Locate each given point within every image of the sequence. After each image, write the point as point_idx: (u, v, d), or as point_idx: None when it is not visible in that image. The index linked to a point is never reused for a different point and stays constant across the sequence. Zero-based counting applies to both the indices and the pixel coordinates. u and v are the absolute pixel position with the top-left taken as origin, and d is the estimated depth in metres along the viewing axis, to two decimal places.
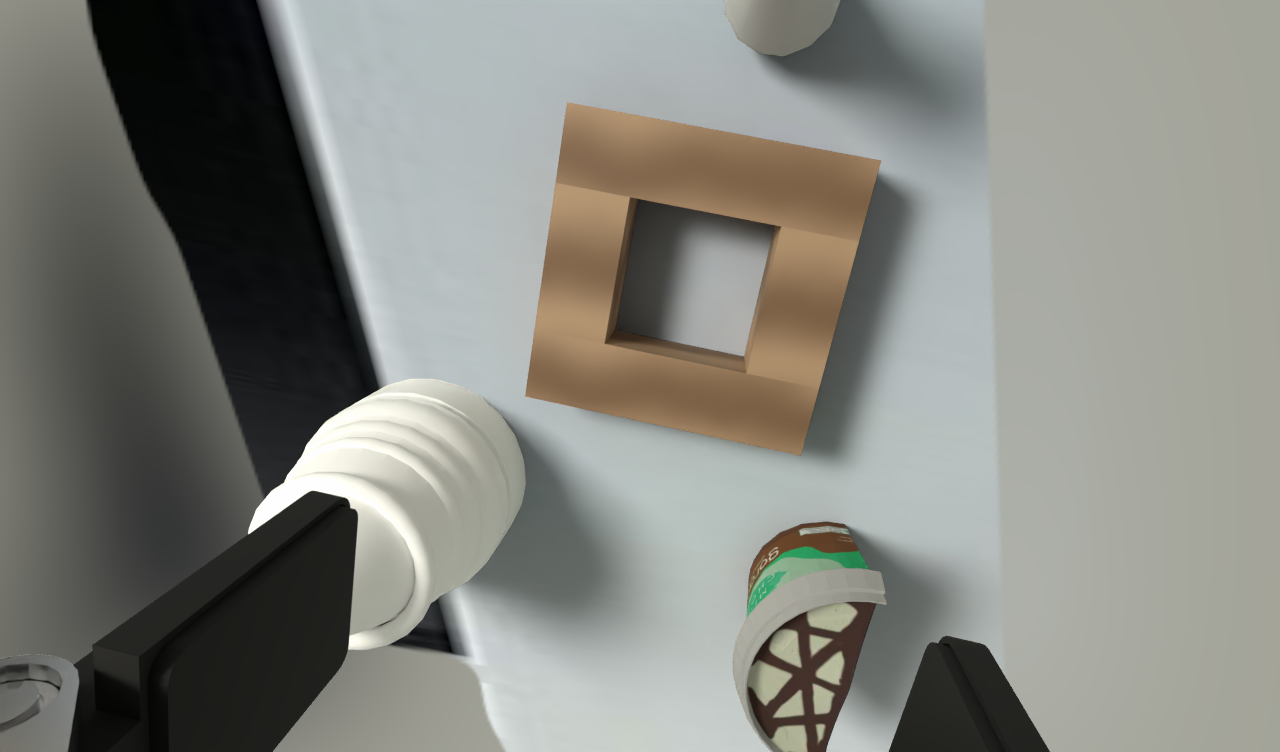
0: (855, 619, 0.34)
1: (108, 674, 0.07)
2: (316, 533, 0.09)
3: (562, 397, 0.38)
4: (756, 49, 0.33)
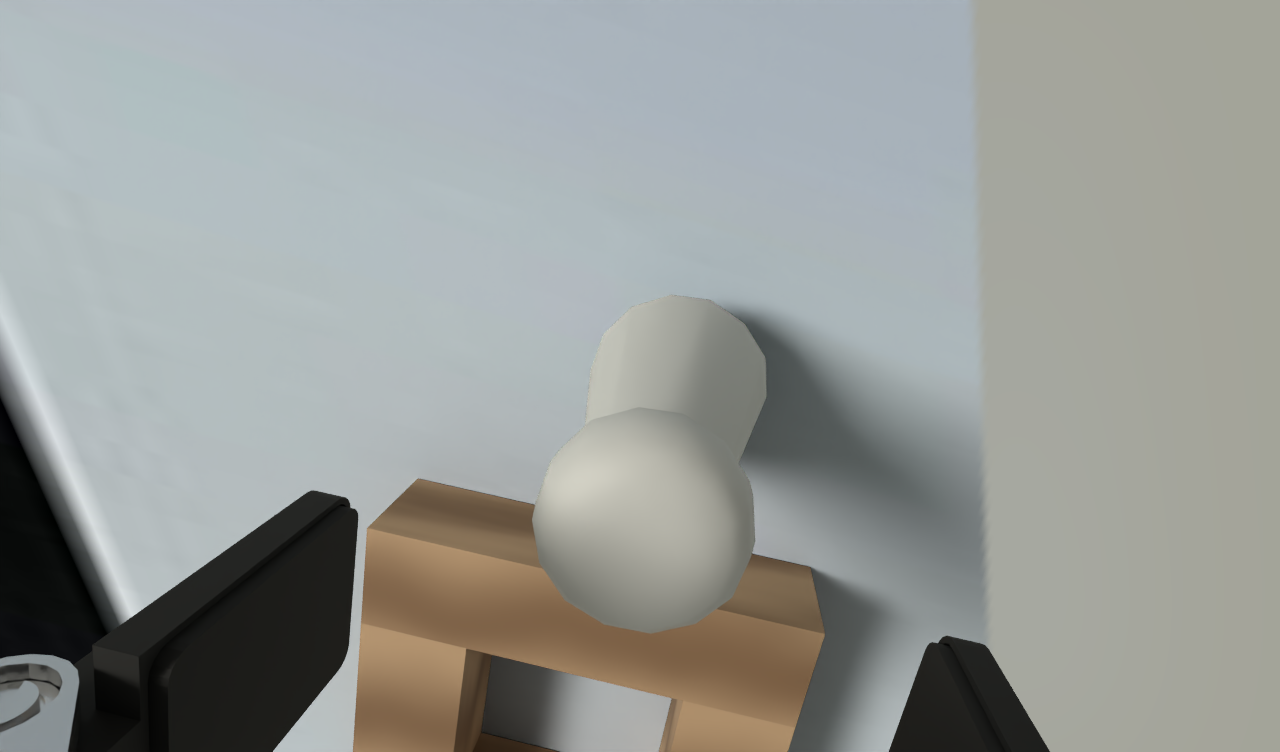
0: None
1: (108, 674, 0.07)
2: (316, 533, 0.09)
3: None
4: None
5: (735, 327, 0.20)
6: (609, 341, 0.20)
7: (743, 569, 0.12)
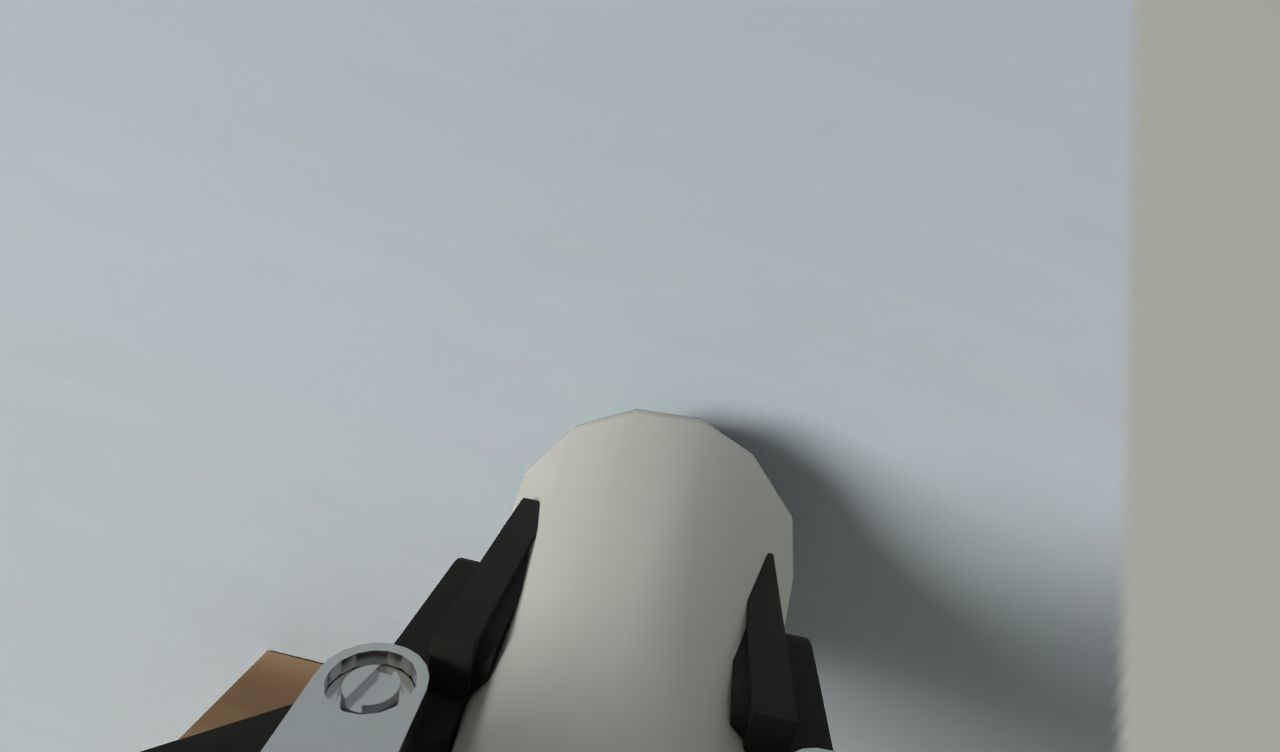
0: None
1: (443, 660, 0.08)
2: None
3: None
4: None
5: (743, 476, 0.12)
6: None
7: None
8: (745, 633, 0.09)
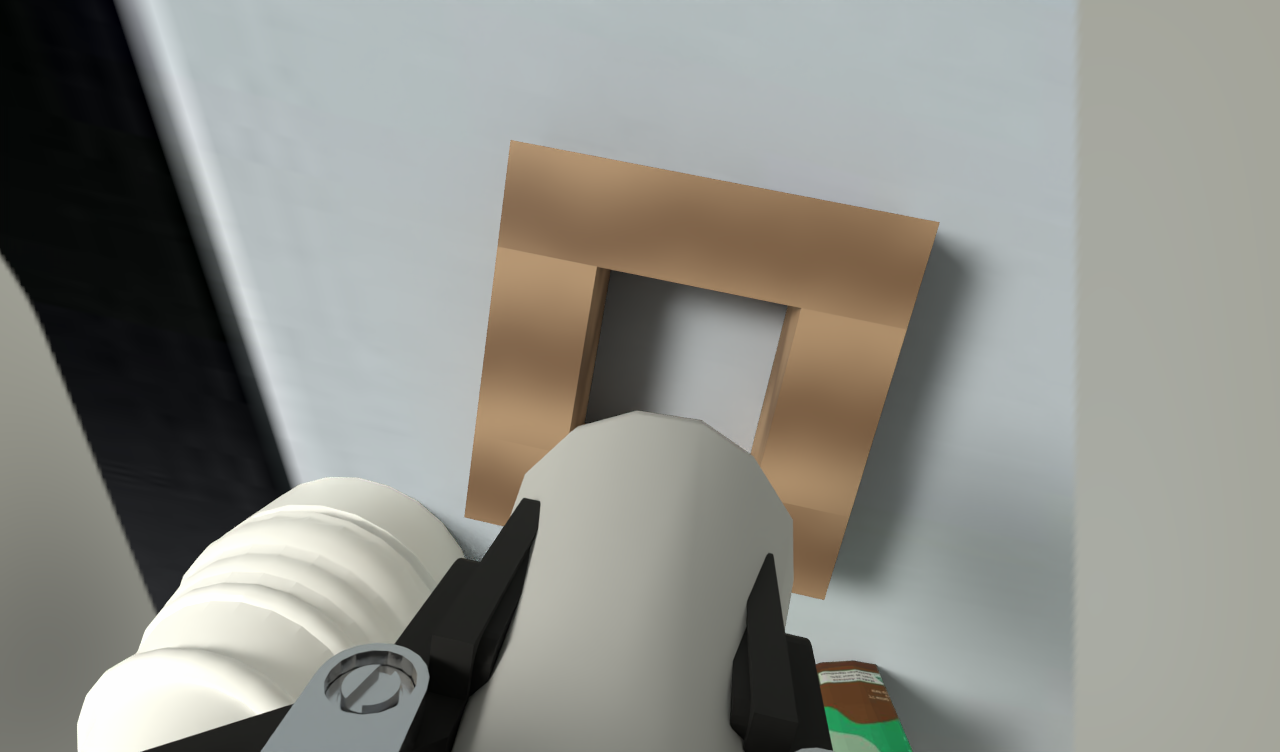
0: None
1: (443, 660, 0.08)
2: None
3: None
4: None
5: (743, 477, 0.12)
6: None
7: None
8: (745, 633, 0.09)
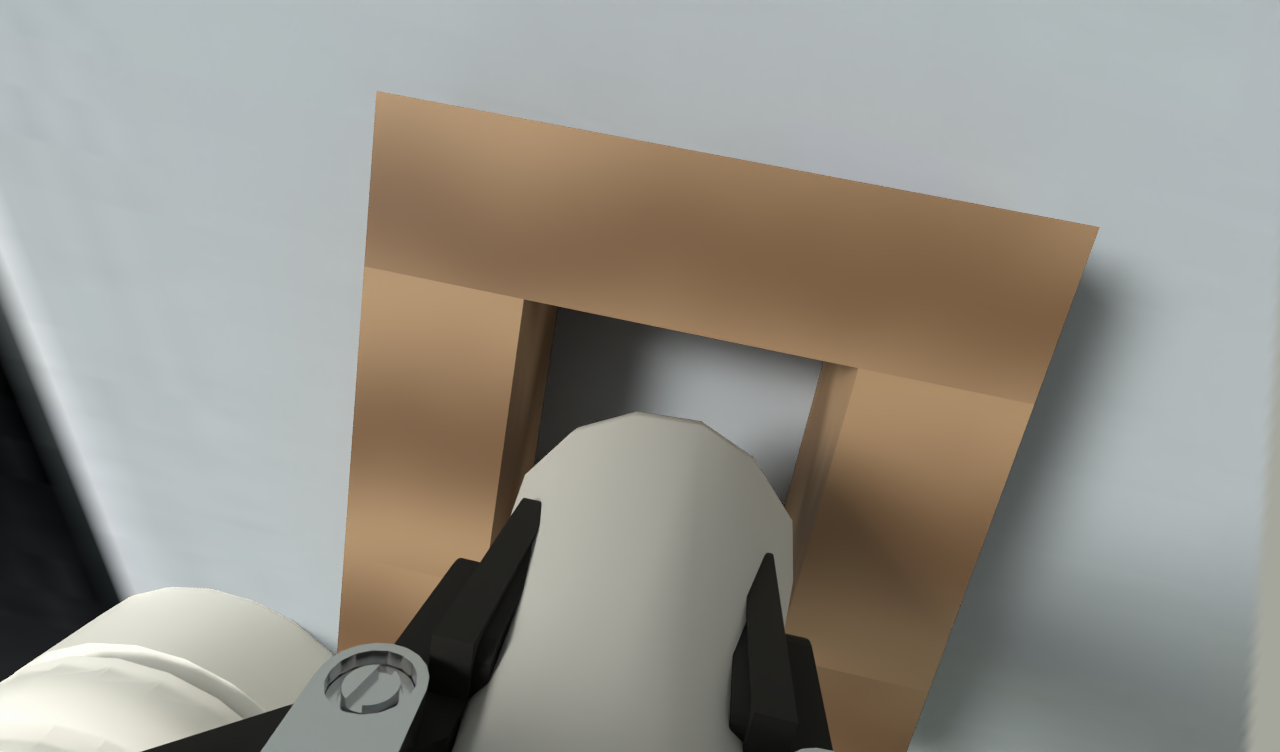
0: None
1: (443, 660, 0.08)
2: None
3: None
4: None
5: (743, 478, 0.12)
6: None
7: None
8: (745, 633, 0.09)
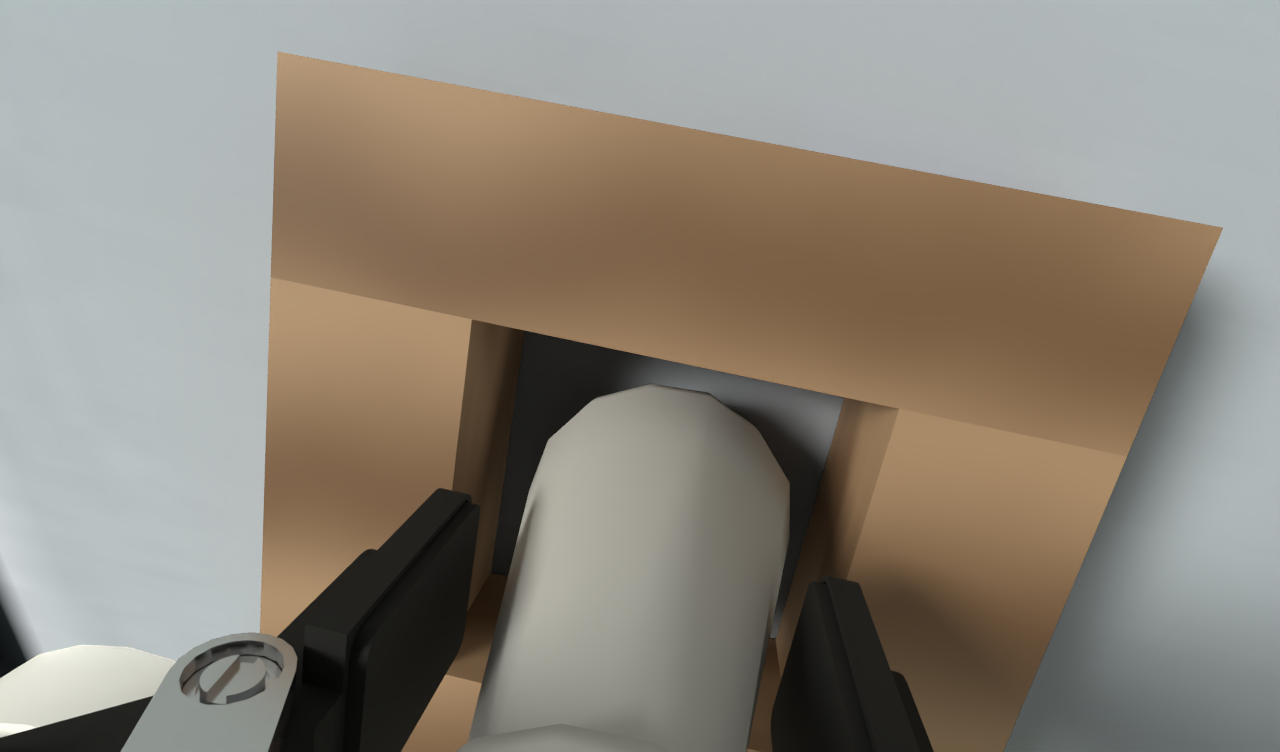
0: None
1: (317, 650, 0.08)
2: (453, 527, 0.10)
3: None
4: None
5: (746, 442, 0.13)
6: (552, 460, 0.13)
7: None
8: (849, 673, 0.09)
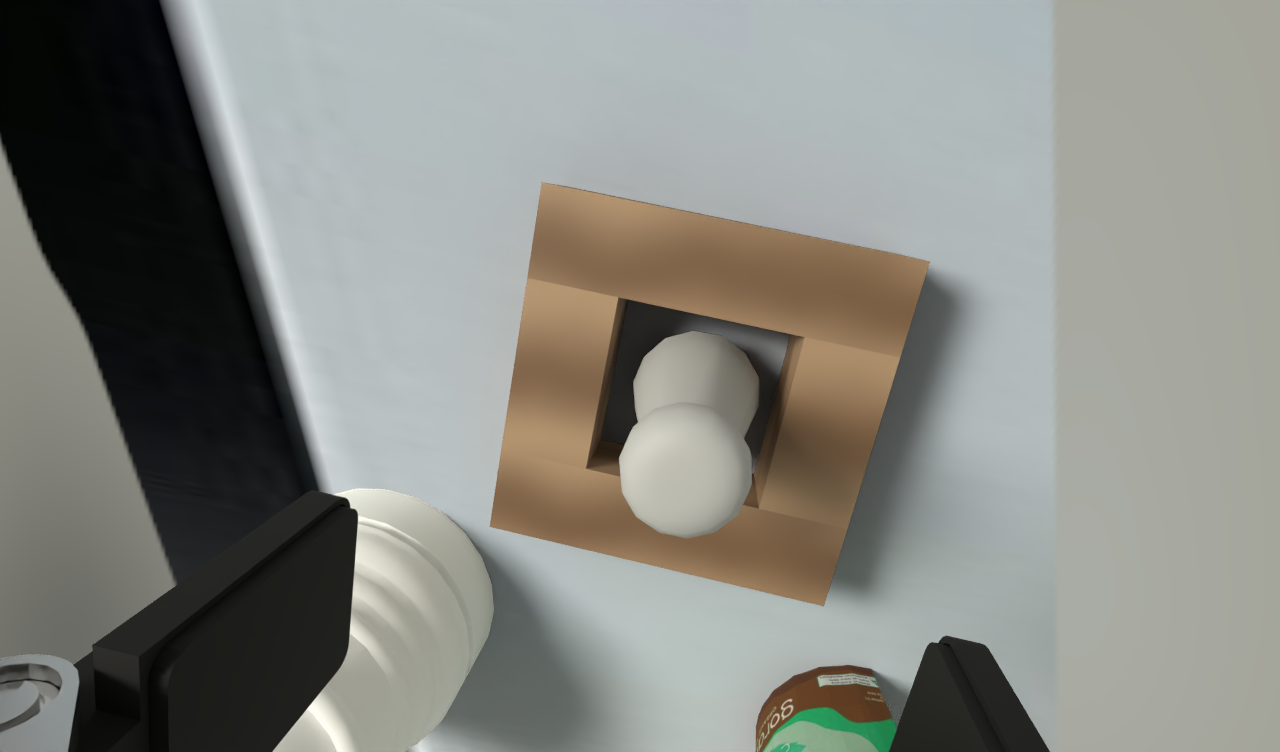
0: None
1: (108, 674, 0.07)
2: (316, 533, 0.09)
3: (534, 529, 0.31)
4: None
5: (738, 355, 0.29)
6: (650, 362, 0.29)
7: (745, 497, 0.21)
8: None
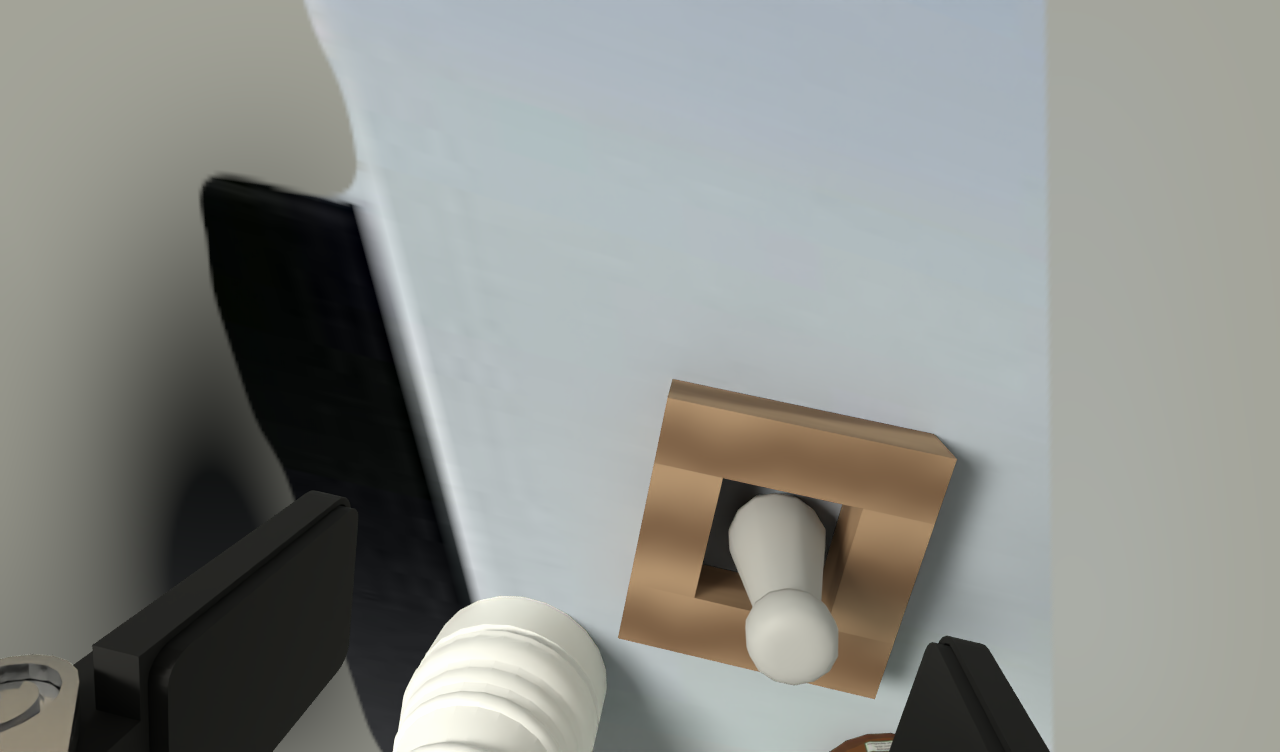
0: None
1: (108, 673, 0.07)
2: (316, 533, 0.09)
3: (653, 640, 0.41)
4: None
5: (811, 516, 0.39)
6: (745, 522, 0.39)
7: (835, 660, 0.30)
8: None
